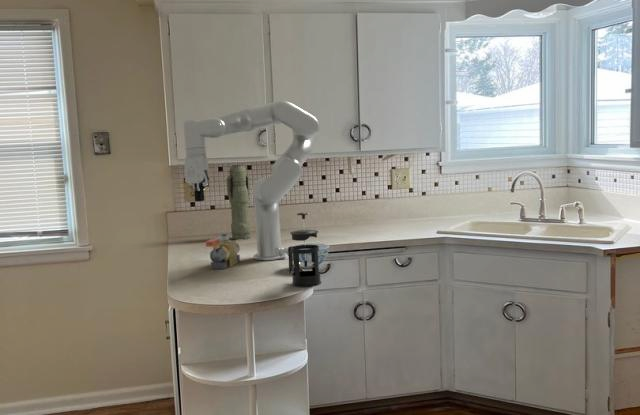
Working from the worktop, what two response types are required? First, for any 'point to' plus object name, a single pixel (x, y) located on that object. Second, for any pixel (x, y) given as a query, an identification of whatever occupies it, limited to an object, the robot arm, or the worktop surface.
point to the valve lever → (217, 240)
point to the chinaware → (321, 254)
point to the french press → (305, 276)
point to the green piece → (239, 201)
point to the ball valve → (225, 254)
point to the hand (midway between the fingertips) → (199, 200)
